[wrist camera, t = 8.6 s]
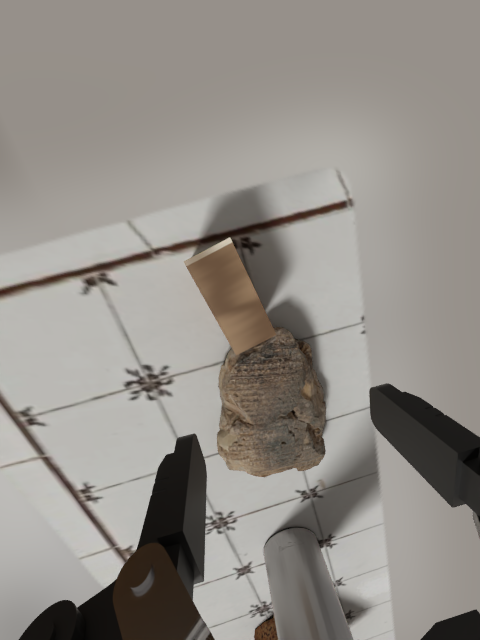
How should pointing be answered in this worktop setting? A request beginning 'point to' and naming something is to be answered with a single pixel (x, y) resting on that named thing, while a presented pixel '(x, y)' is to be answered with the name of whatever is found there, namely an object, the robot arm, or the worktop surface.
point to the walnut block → (231, 296)
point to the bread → (266, 631)
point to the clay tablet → (271, 408)
